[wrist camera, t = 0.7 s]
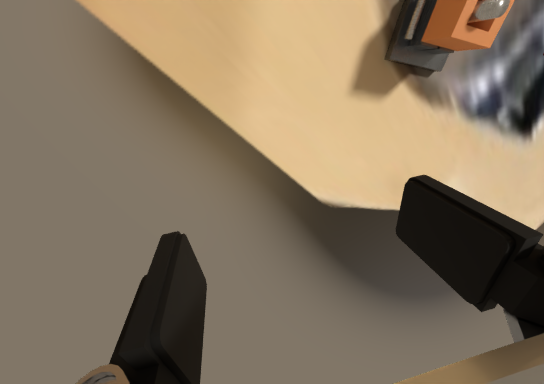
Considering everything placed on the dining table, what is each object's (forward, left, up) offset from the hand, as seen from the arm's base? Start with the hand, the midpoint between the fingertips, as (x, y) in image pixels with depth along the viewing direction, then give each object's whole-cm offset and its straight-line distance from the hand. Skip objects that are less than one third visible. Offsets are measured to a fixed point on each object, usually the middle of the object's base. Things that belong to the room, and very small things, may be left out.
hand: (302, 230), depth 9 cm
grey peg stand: (-16, +26, -28) cm, 42 cm away
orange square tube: (-16, +26, -24) cm, 39 cm away
